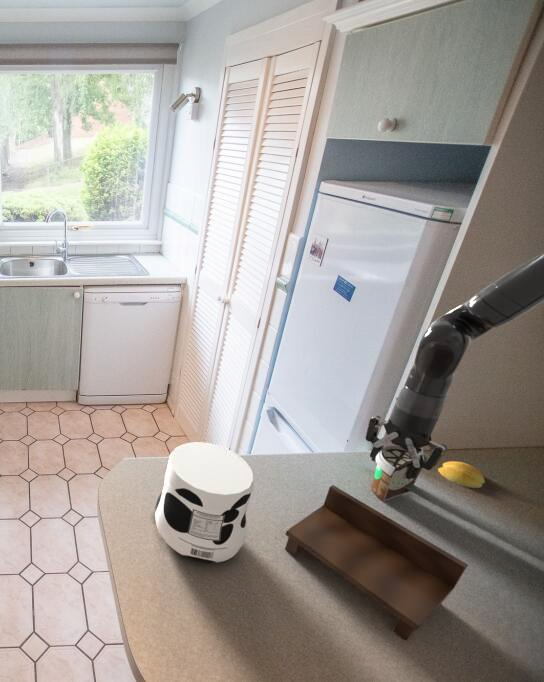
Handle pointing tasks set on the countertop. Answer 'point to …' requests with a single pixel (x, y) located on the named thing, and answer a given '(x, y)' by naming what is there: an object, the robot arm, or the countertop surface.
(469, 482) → the yellow ridged fruit
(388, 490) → the food container
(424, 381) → the robot arm
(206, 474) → the milk container
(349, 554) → the shelf
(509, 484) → the countertop surface
